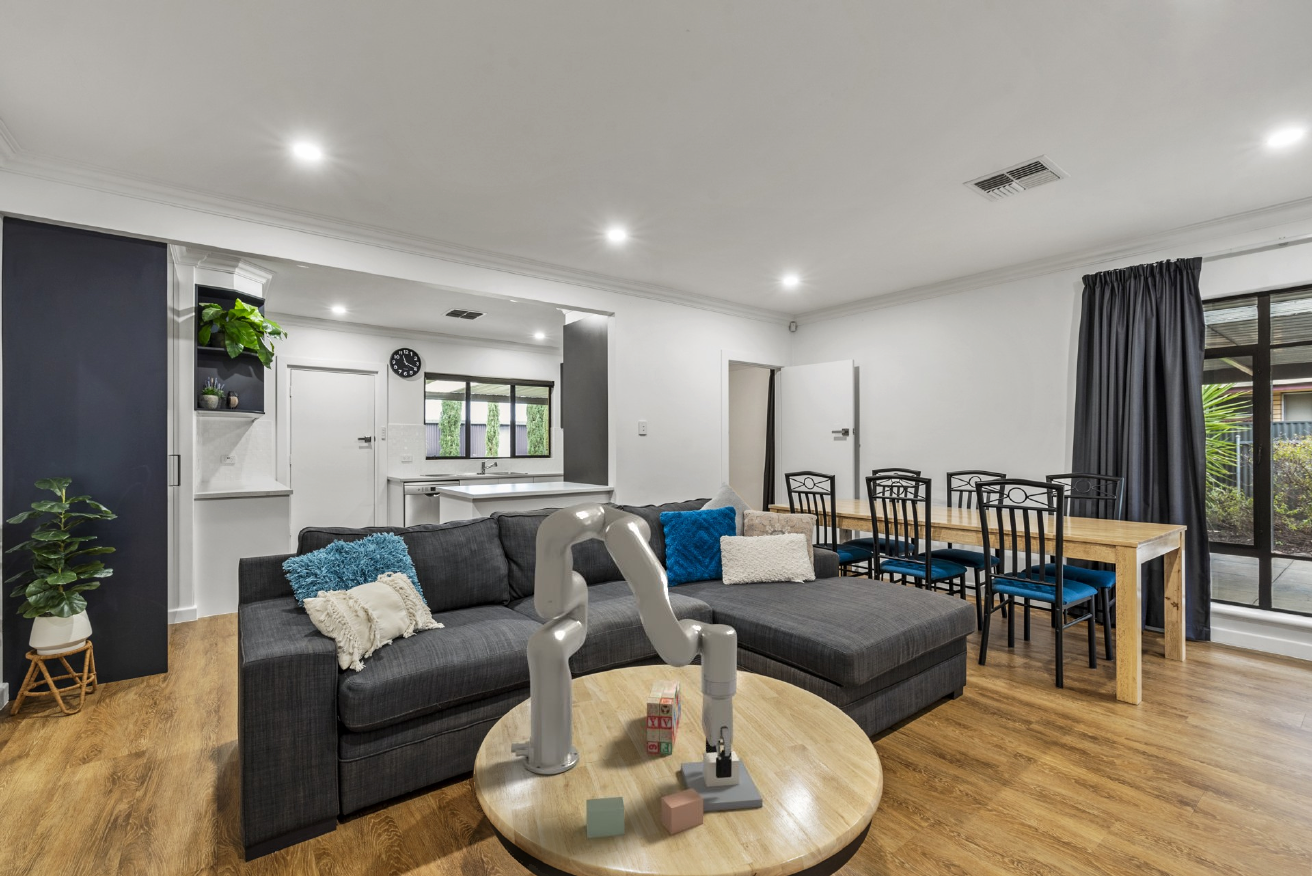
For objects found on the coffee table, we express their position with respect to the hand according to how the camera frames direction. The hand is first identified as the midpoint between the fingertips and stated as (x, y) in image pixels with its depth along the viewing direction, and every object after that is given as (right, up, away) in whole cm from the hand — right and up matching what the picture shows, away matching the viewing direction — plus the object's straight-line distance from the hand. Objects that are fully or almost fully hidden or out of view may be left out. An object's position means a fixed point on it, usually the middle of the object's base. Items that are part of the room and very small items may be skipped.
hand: (718, 764), depth 133 cm
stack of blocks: (-11, -5, +25) cm, 27 cm away
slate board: (0, -5, 0) cm, 5 cm away
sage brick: (-23, -5, -14) cm, 28 cm away
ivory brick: (+1, -3, 0) cm, 3 cm away
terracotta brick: (-8, -5, -12) cm, 16 cm away
